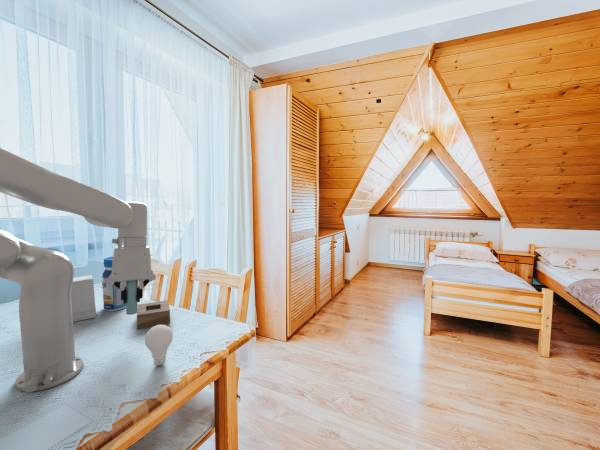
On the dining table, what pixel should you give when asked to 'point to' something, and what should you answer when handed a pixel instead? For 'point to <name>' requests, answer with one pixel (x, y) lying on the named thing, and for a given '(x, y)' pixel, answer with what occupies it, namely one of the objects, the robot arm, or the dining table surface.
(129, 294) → the peg
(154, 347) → the light bulb
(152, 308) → the socket block
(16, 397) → the dining table surface
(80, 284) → the skincare box
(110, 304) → the beverage bottle
